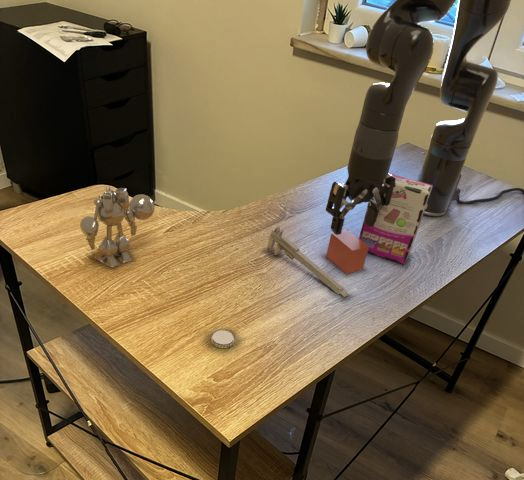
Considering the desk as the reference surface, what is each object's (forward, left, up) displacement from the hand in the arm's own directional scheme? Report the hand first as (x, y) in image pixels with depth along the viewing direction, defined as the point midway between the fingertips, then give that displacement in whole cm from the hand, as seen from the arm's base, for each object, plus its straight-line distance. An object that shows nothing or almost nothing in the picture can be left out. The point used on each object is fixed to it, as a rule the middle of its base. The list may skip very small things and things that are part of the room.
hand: (352, 228), depth 106 cm
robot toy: (+41, -19, -8) cm, 46 cm away
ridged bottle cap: (+35, +11, -8) cm, 38 cm away
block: (0, 0, -8) cm, 8 cm away
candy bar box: (-11, 0, -8) cm, 13 cm away
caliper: (+10, 0, -8) cm, 13 cm away
